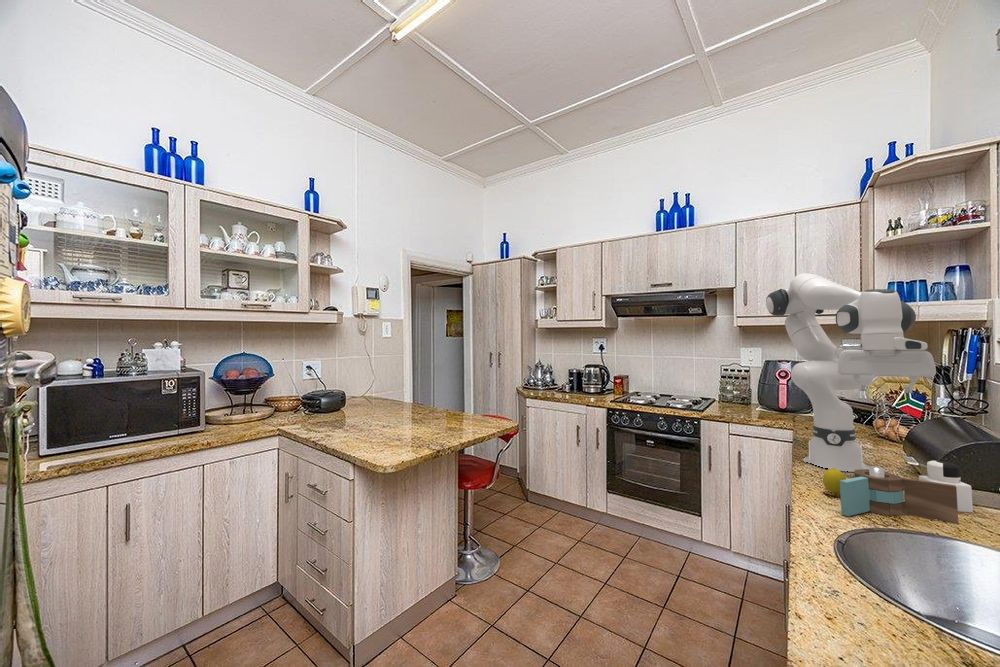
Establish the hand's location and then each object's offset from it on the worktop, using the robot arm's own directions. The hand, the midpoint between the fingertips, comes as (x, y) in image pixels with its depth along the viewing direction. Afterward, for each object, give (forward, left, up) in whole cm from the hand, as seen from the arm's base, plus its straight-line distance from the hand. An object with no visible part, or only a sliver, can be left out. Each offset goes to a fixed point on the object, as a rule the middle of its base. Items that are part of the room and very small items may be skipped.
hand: (884, 391), depth 112 cm
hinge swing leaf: (+13, -5, -31) cm, 34 cm away
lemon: (+4, -12, -31) cm, 34 cm away
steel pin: (+9, -3, -31) cm, 32 cm away
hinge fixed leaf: (+9, +2, -31) cm, 32 cm away
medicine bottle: (-4, +11, -31) cm, 33 cm away
